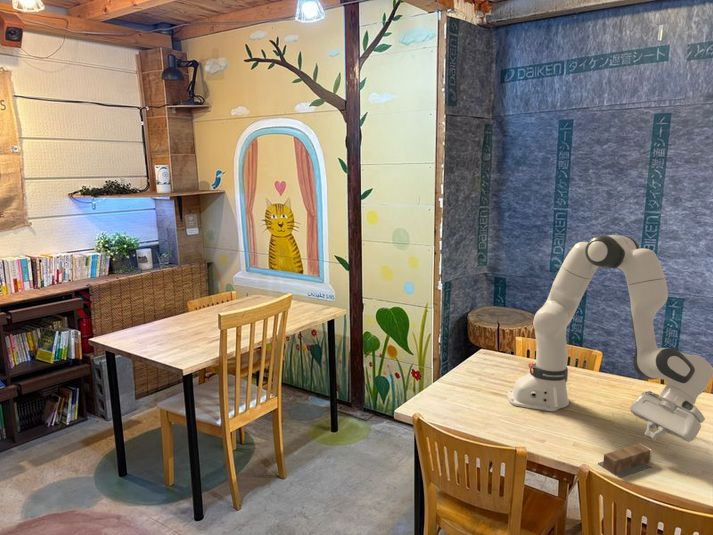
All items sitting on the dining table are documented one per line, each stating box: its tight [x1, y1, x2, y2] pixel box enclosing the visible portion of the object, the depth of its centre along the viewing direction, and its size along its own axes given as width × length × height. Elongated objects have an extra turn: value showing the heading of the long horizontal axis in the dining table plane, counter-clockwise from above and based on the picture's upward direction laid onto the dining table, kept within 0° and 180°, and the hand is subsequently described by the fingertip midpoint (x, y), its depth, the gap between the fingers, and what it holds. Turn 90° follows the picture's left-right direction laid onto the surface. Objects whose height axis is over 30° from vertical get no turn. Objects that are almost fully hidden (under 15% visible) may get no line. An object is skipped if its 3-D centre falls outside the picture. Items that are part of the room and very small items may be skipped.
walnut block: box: [602, 443, 652, 474], centre depth 162 cm, size 4×4×15 cm
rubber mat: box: [597, 461, 652, 479], centre depth 163 cm, size 13×8×1 cm, turn 113°
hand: (649, 437), depth 165 cm, fingers closed
